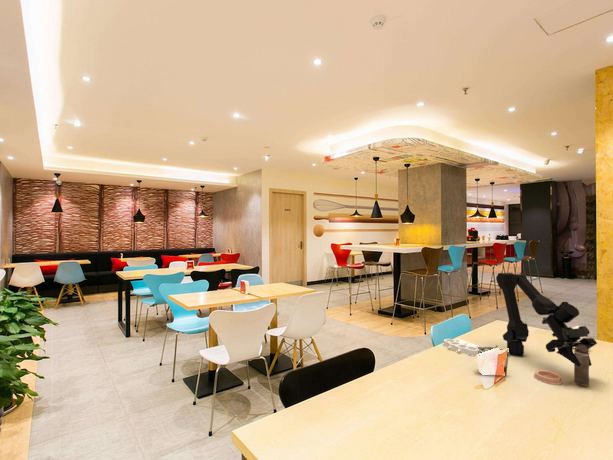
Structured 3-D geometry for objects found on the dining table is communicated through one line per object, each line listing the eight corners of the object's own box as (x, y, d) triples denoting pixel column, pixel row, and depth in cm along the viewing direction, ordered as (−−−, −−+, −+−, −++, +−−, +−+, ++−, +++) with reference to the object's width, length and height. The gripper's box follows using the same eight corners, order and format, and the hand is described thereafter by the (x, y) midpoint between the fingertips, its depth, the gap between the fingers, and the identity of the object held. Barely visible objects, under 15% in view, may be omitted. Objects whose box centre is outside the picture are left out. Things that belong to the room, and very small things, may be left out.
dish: (536, 381, 133) (536, 377, 133) (531, 372, 142) (531, 368, 142) (566, 386, 129) (566, 381, 129) (559, 376, 138) (559, 372, 138)
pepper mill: (575, 383, 129) (576, 345, 129) (572, 379, 133) (572, 341, 133) (590, 386, 127) (591, 347, 127) (586, 381, 131) (587, 343, 131)
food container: (502, 370, 144) (502, 347, 144) (510, 376, 138) (510, 352, 138) (472, 368, 145) (472, 345, 145) (478, 375, 139) (478, 350, 139)
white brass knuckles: (488, 353, 164) (468, 359, 158) (456, 342, 180) (437, 347, 174) (488, 347, 164) (468, 352, 158) (456, 336, 180) (437, 340, 174)
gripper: (552, 319, 133) (578, 358, 122) (592, 317, 135) (621, 355, 125) (535, 333, 140) (558, 370, 130) (574, 331, 143) (599, 367, 133)
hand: (585, 365), depth 129 cm, fingers closed on pepper mill, 4 cm apart
